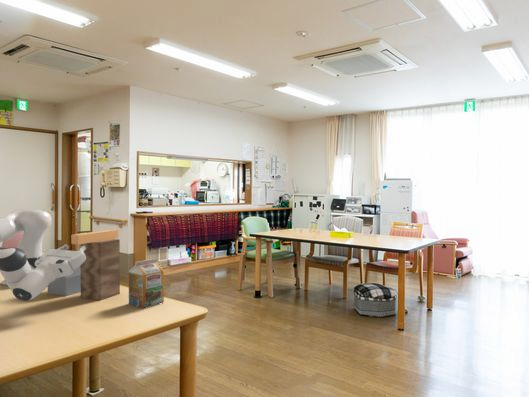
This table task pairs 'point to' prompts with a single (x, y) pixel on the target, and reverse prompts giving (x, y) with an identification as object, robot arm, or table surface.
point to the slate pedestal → (66, 284)
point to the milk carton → (146, 284)
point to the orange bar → (94, 236)
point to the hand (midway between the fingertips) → (75, 246)
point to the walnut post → (101, 269)
